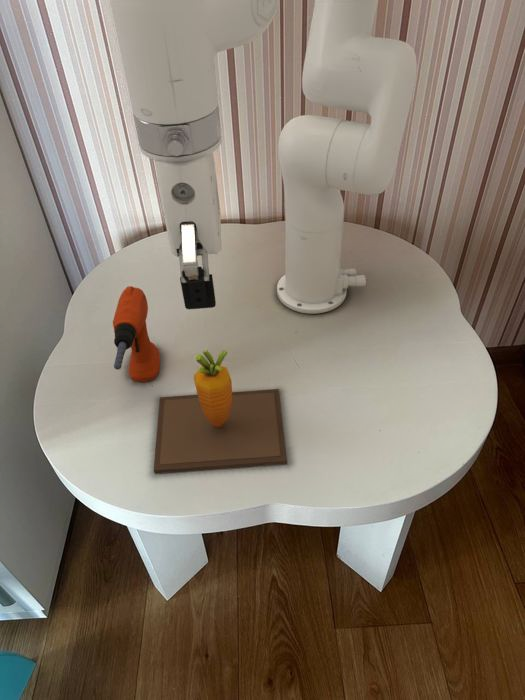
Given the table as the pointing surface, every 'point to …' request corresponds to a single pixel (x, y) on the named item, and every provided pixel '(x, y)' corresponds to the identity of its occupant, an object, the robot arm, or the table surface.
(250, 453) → the mat
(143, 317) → the toy drill
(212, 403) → the carrot
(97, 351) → the table surface
